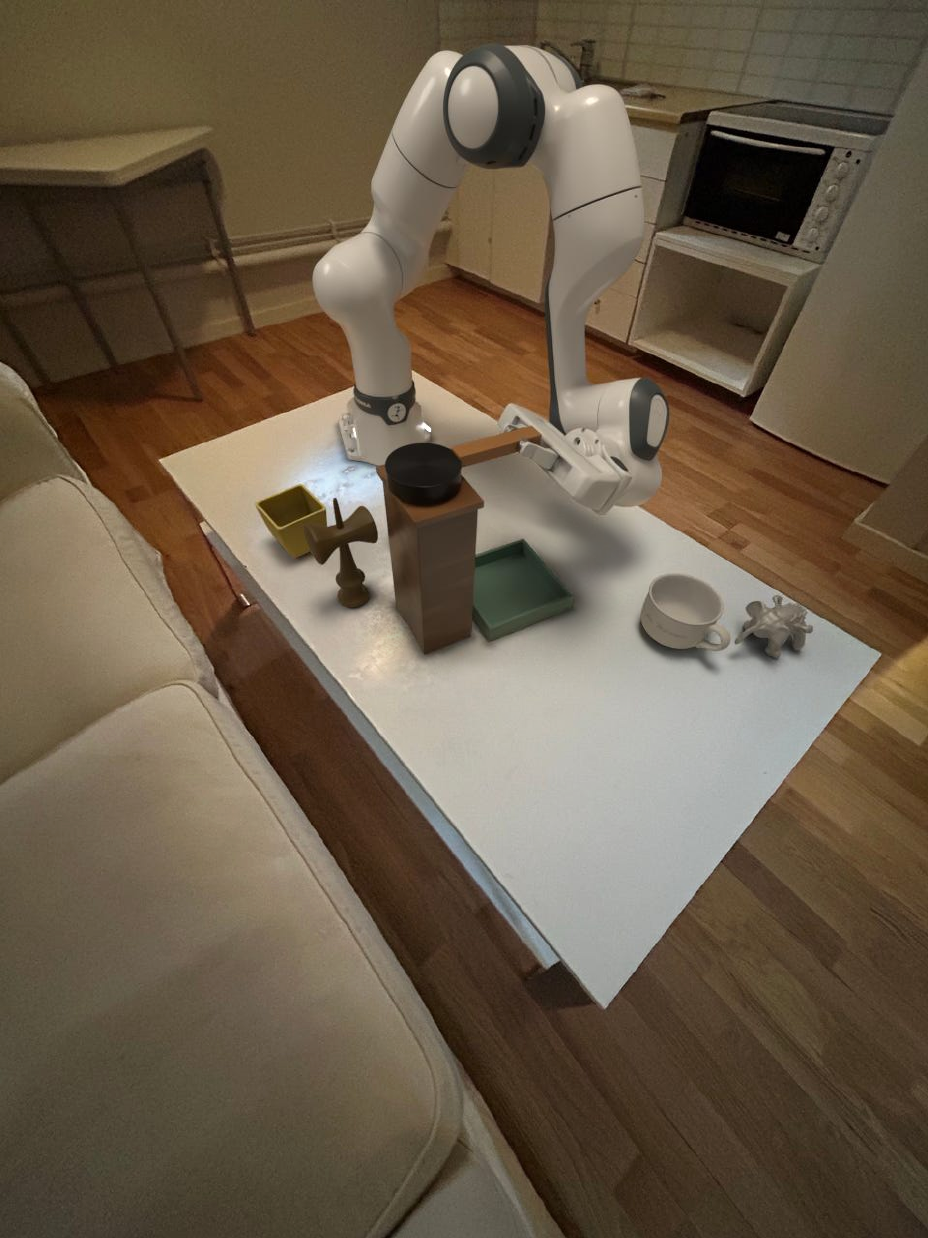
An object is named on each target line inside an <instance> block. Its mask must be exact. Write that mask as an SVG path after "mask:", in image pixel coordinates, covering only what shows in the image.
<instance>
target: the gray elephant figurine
mask: <svg viewBox="0 0 928 1238" xmlns="http://www.w3.org/2000/svg"><path fill="white" fill-rule="evenodd" d="M771 599H772V602H773V603H774V606H773V607H768V606H767V605H766V604H765V603H764V602H763V601H760V600H754V601H751V602H749V603H748V604H747V605H746V606H745V611H746V613H747V615H748V616H749V617H750V618H751V619H748V620H745V621H744V622H743V628H744V631H743V632H741V633H740V634H739V635H738V636H737V637H736V638H735V639H734V641H733V643H734V645H740V644H741V643H742V642H743V641H744V639H745V638H747V637H748V636H749V635H750V634H752V633H753V635H754V636H755V637H757V638H760V639H766V638H767V639H768V646H766V648H765V649H764V652H765V653H766V655H768V656H770V657H772V658H775V659H778V658H780V657H781V655H782V646H783V644H785V642H786V641H787V639H788V637H789V636H791V635H792V643H791V645H792V646H791V647H792V648H793V649H794V650H795V651H799V650H801V649H802V648H804V647H805V644H806V639H807V637H806V636H807V635H809V634H812V633H813V631H814V626H813V625H812V624H809V625H807V623H806V621H805V620H806V618H807V617H806V616H807V615H808V611H807V608H806V607H804V606H802V605H801V604H800V603H799V602H796V603H791V602H788V603H785V604H783V603H782V602H783V599H784V597H783V596H782V595H780V594H776V595H773V596H772V597H771Z"/></svg>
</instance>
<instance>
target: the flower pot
mask: <svg viewBox="0 0 928 1238" xmlns="http://www.w3.org/2000/svg"><path fill="white" fill-rule="evenodd" d="M254 506H255V507H256V509H257V511H258V514H259V515H260V517H261V519H262V522H263V523H264V525H265V527H266V529H268V531H269V532H270V534H271V535H272V536H273V537H274V538H275V539H276V540H277V541H278V543H279V544H280V545H281V546H282V547H283V549H285V550H286V552H287V553H288V554H289V555H290V556H291V557H293V558H295V559H298V558H300V557H302V556H304V555H306V554H308V553H311V551H310V549H309V546H308V544H307V541H306V538H305V535H304V530H303V528H304V524H305V523H309V524H314V525H318V526H324V527H328V518H327V507H326V506H325V505H324V503H322V502H321V501H320V500H319V499H318V498H317V497H316V496H315V495H314V494H313V493H312V492H311V491H310V490H309V489H308V487H306V486H305V485H303V484H302V483H299V484H296V485H294V486H291V487H288V488H286V489H284V490H282V491H280V492H278V493H275V494H272V495H270V496H268V497H264V498H262V499H260V500H258V501H256V502H254Z"/></svg>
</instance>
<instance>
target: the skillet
mask: <svg viewBox="0 0 928 1238" xmlns="http://www.w3.org/2000/svg"><path fill="white" fill-rule="evenodd" d="M541 437H542V434H541V433H539V432H538V431H537V430H536V429H535V428H534V427H533V426H528V427H524V428H521V429H517V430H513V431H509V432H506V433H502V434H500V433H497V434H495V435H491V436H487V437H483V438H480V439H476V440H472V441H469V442H465V443H461V444H457V445H454V446H450V447H447V446H445V445H442V444H439V443H433V442H428V443H412V444H408V445H404V446H402V447H399V448H397V449H396V450H394V451H393V452H392V453H390V454H389V456H388V457H387V459H386V461H385V472H386V482H387V487H388V489H389V491H390V492H391V493H392V494H393V495H394V496H396V497H397V498H399V499H401V500H403V501H406V502H410V503H415V504H432V503H438V502H441V501H444V500H446V499H448V498H450V497H452V496H453V495H454V494H455V493H456V492H457V491H458V490H459V488H460V486H461V476H463V475H462V472H463V469H464V468H467V467H470V466H474V465H477V464H481V463H484V462H489V461H492V460H496V459H499V458H503V457H506V456H509V455H512V454H517V453H518V452H517V451H516V446H517V445H518V444H519V441H520V439H522V438H525V439H528V440H531V441H532V442H533V443H535V444H537V445H539V446H540V444H541Z"/></svg>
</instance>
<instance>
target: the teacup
mask: <svg viewBox="0 0 928 1238" xmlns="http://www.w3.org/2000/svg"><path fill="white" fill-rule="evenodd" d="M724 610H725V605H724V600H723V599H722V597H721V595H720V594H719V593H718V591H717V590H716V589H715V587H713V586H712V585H711V584H709V583H708V582H706V581H704V580H703V579H701V578H698V577H696V576H693V575H690V574H686V573H677V572H674V573H673V572H671V573H666V574H661V575H659V576H657V577H656V578H654V579H653V580H652V582H650V585H649V588H648V592H647V594H646V596H645V597H644V601H643V603H642V607H641V611H640V621H641V624H642V627H643V629H644V630H645V632H646V633H647V634H648V635H649V637H650V638H651V639H653V640H654V641H656V642H657V643H659V644H660V645H663V646H665V647H668V648H672V649H677V650H682V649H683V650H685V649H690V648H693V647H695V648H696V649H705V650H708V651H712V652H720V651H724V650H726V649H727V648H728V647H729V646H730V644H731V635H730V632H729V631H728V630H727V628H726V627H724V626H723V625H720V624H718V623H717V622H718V621H719V620H720V618H721V617H722V616H723V614H724ZM716 623H717V624H716ZM712 633H715V634H717V636H718V637H719V639H720V643H714V642H711V641H709V640H707V639H706V638H708V636H709V635H710V634H712Z"/></svg>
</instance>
